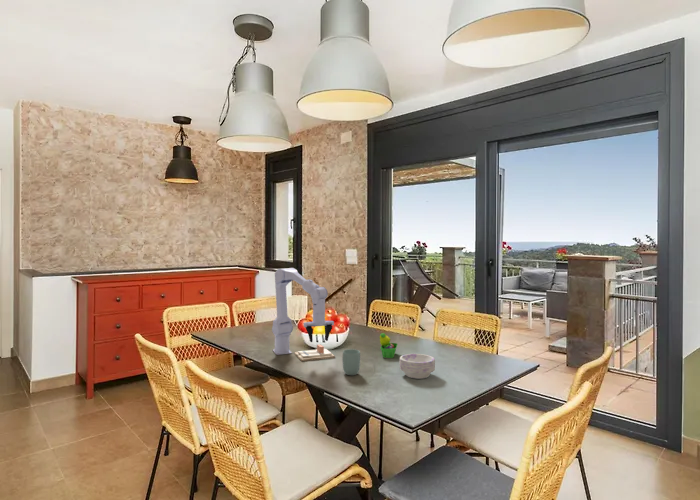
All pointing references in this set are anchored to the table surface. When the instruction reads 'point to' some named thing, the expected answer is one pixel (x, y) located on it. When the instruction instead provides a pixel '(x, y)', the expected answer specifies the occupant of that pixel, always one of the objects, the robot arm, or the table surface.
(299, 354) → the board
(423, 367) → the pale mottled bowl
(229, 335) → the table surface
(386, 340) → the fruit basket
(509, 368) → the table surface
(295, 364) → the table surface
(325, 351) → the pinkish brown block
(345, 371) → the cup
